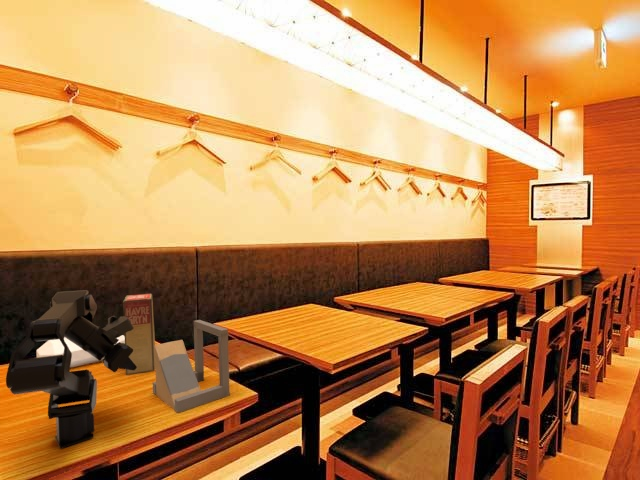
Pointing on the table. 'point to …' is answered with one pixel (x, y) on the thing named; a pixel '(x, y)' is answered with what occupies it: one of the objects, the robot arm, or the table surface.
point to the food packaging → (140, 332)
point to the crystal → (78, 353)
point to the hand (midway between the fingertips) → (135, 368)
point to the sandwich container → (173, 372)
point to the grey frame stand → (212, 392)
